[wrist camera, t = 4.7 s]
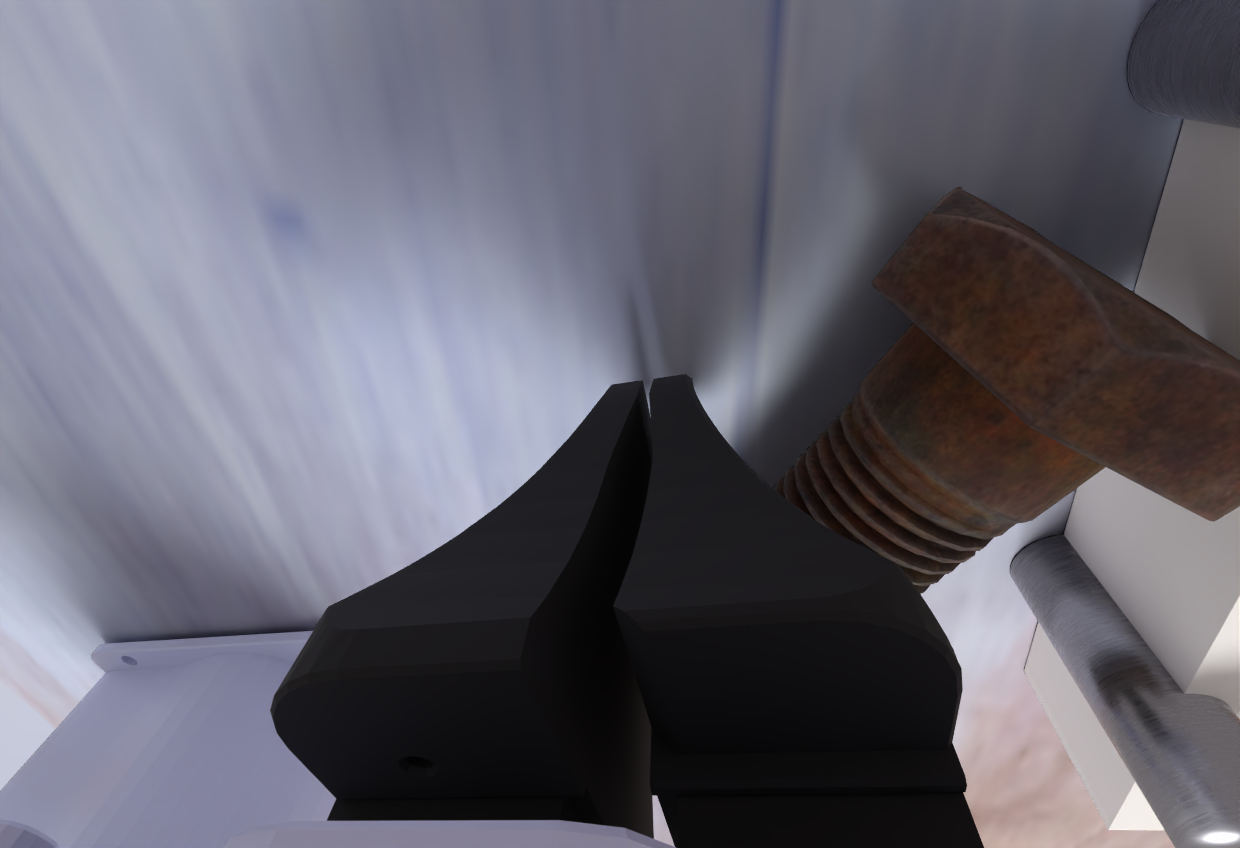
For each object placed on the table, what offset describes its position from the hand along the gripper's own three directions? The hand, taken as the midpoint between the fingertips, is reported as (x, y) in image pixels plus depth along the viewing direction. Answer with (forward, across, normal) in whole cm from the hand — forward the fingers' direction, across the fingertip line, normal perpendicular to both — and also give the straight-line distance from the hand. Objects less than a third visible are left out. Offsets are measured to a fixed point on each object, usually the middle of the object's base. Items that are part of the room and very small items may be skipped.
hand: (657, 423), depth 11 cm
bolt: (+2, -2, +4) cm, 5 cm away
